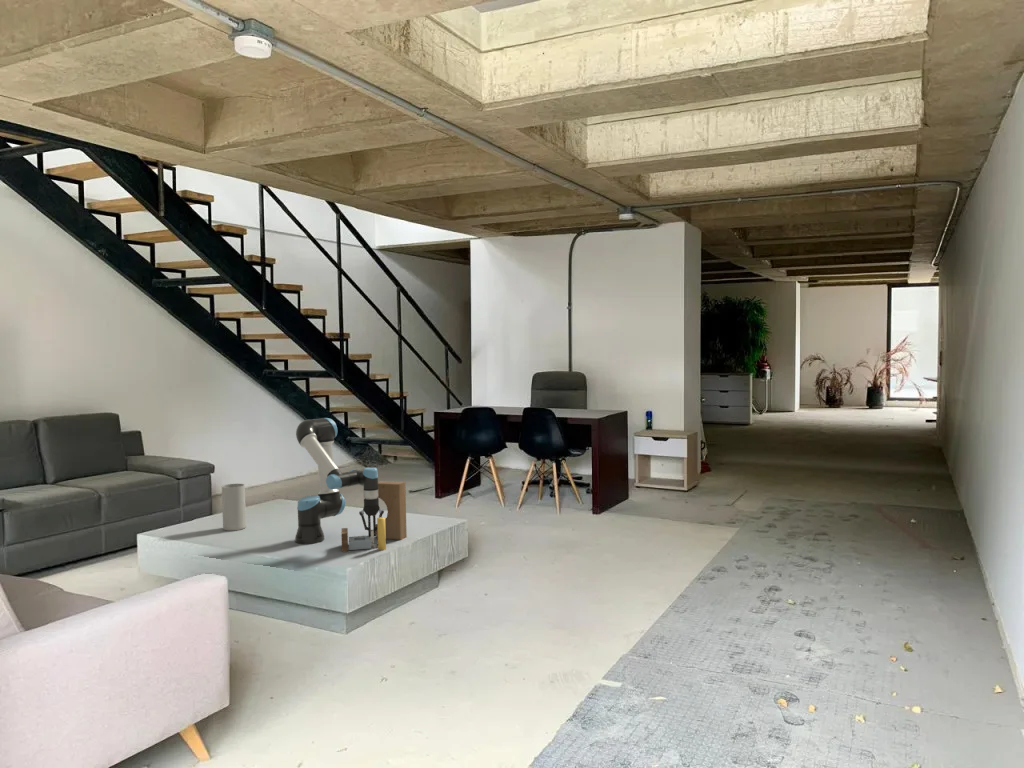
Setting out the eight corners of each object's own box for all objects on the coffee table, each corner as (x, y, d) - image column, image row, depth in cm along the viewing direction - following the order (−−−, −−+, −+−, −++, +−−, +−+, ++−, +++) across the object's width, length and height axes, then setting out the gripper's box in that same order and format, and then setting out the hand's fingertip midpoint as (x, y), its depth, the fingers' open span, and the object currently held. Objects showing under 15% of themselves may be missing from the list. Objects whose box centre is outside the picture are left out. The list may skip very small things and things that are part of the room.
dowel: (377, 548, 391) (377, 517, 390) (385, 547, 392) (385, 517, 391) (378, 550, 387) (377, 519, 386) (386, 549, 388) (385, 518, 387)
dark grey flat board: (348, 546, 397) (348, 545, 397) (384, 543, 401) (384, 543, 401) (348, 550, 389) (348, 549, 389) (385, 547, 393) (385, 547, 393)
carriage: (349, 544, 398) (348, 536, 398) (370, 543, 401) (370, 535, 400) (349, 550, 387) (348, 542, 387) (371, 548, 390) (370, 540, 390)
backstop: (342, 545, 398) (341, 528, 398) (348, 545, 399) (347, 527, 399) (341, 551, 386) (341, 534, 385) (348, 551, 386) (347, 533, 386)
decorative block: (407, 536, 414) (405, 481, 413) (400, 540, 407) (399, 484, 406) (382, 534, 419) (381, 480, 418) (375, 538, 412) (374, 483, 411)
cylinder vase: (250, 527, 443) (249, 484, 441) (232, 532, 432) (230, 488, 431) (237, 525, 450) (235, 482, 448) (218, 529, 439) (216, 486, 438)
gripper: (358, 499, 391) (359, 545, 392) (384, 498, 394) (385, 543, 395) (358, 497, 398) (359, 541, 400) (383, 495, 401) (384, 540, 402)
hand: (372, 542), depth 397 cm, fingers closed
